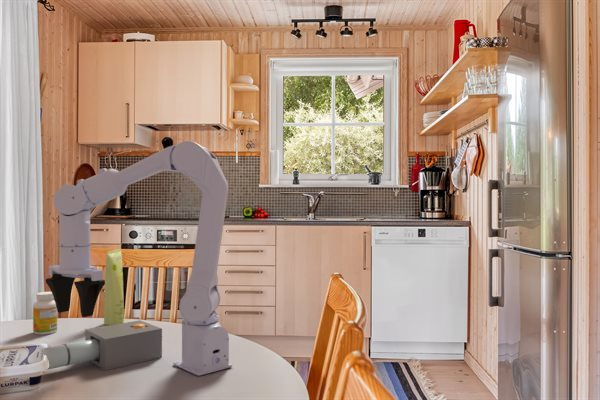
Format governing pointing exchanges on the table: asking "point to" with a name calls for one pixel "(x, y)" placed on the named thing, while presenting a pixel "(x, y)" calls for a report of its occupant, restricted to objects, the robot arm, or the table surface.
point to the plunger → (138, 326)
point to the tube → (114, 289)
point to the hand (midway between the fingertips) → (75, 313)
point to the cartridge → (72, 353)
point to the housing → (126, 344)
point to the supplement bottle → (44, 314)
